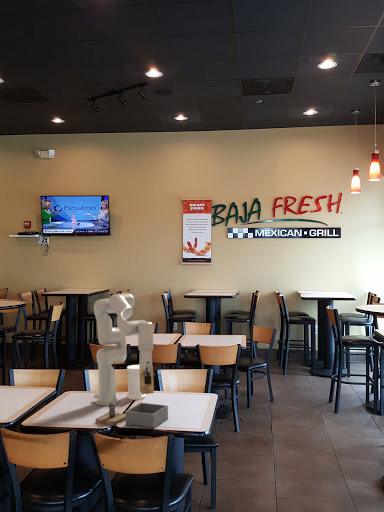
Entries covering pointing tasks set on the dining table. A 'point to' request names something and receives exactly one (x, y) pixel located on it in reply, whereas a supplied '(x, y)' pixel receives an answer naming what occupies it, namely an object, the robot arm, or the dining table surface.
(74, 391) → the dining table surface
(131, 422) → the charcoal bin
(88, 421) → the dining table surface
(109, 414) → the stud block
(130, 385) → the decorative container
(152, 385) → the oak strut
